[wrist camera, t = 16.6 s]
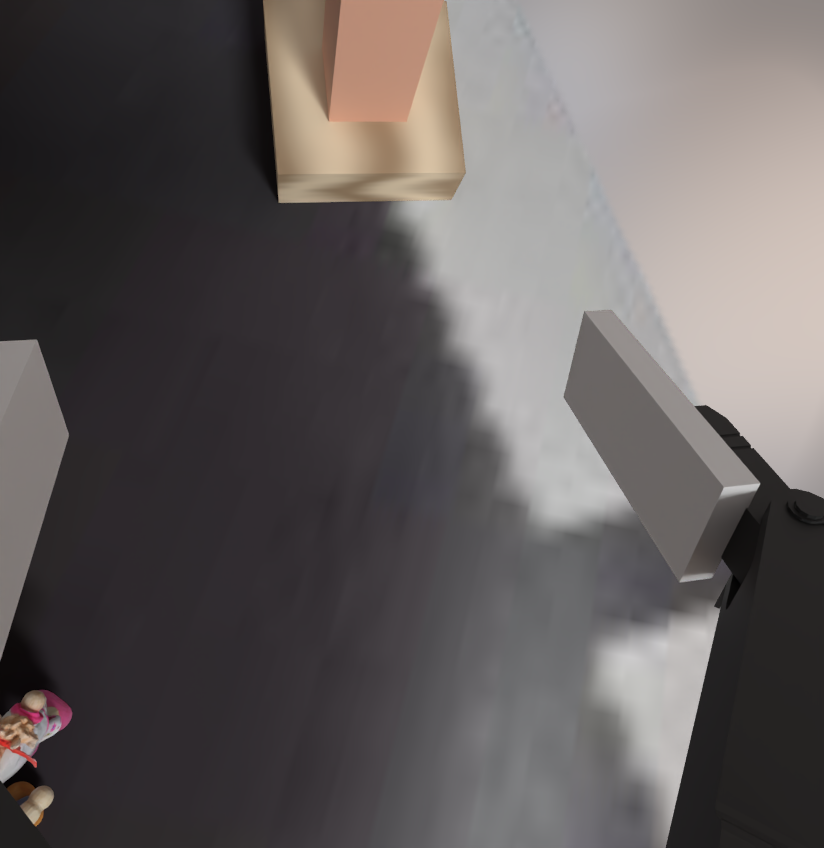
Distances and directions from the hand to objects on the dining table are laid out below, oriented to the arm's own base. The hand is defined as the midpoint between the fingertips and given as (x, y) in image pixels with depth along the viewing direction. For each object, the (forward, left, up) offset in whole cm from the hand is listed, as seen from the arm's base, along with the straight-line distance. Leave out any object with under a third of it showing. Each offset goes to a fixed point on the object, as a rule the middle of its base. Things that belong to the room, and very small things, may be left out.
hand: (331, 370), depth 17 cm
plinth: (-11, +21, -28) cm, 36 cm away
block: (-11, +21, -24) cm, 33 cm away
